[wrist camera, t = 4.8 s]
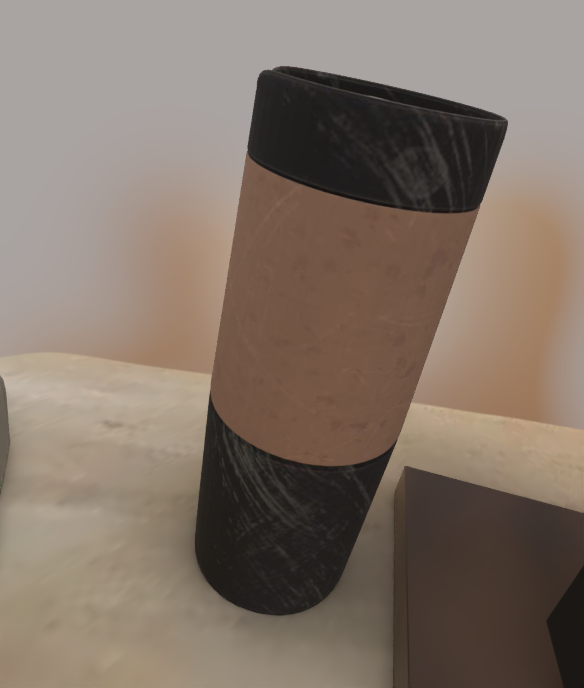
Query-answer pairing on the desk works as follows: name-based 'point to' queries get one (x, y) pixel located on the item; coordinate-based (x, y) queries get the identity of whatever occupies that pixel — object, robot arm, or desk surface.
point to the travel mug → (328, 319)
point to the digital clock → (3, 430)
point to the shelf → (478, 584)
